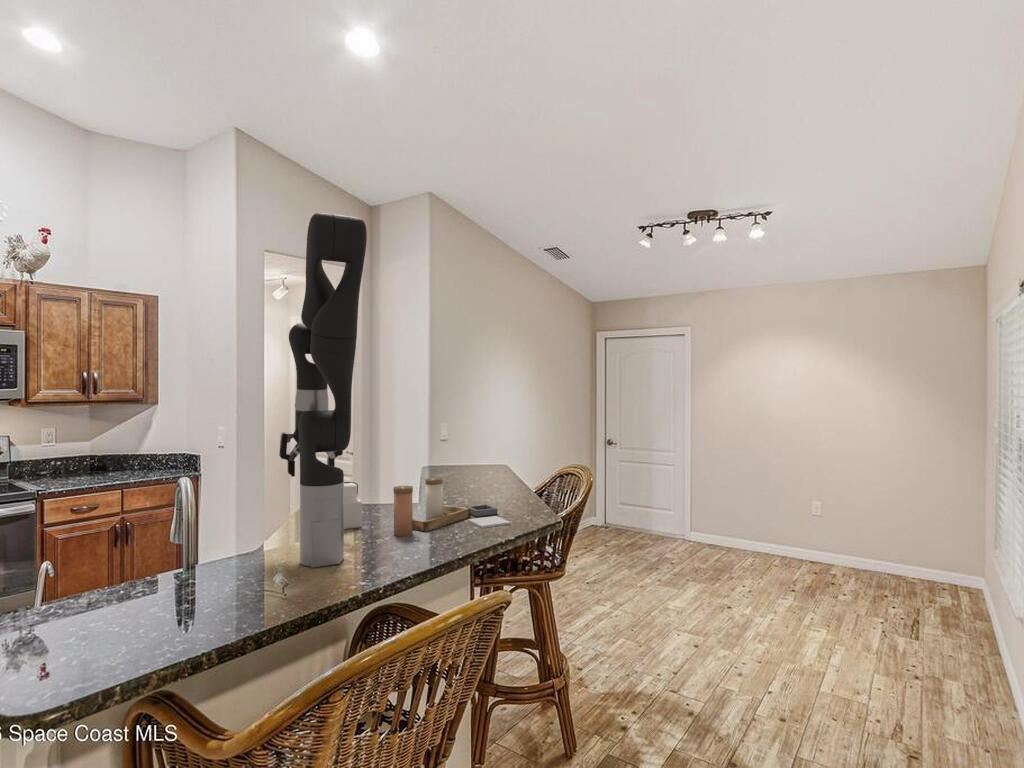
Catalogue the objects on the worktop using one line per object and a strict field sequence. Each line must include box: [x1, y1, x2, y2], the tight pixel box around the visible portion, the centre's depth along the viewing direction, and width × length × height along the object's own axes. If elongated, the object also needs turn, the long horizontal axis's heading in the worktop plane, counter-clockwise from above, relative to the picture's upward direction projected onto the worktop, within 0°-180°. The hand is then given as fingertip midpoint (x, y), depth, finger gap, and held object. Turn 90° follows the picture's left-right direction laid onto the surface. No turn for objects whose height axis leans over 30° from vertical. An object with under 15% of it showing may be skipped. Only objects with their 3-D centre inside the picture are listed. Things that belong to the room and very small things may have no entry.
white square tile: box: [467, 515, 512, 529], centre depth 163 cm, size 9×9×1 cm
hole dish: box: [465, 503, 498, 518], centre depth 174 cm, size 7×7×2 cm
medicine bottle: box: [343, 481, 363, 530], centre depth 160 cm, size 7×7×12 cm
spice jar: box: [424, 476, 444, 521], centre depth 165 cm, size 5×5×12 cm
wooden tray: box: [412, 504, 471, 532], centre depth 164 cm, size 10×20×2 cm, turn 149°
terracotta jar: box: [392, 485, 414, 537], centre depth 151 cm, size 5×5×12 cm
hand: (311, 474), depth 139 cm, fingers open, 8 cm apart
